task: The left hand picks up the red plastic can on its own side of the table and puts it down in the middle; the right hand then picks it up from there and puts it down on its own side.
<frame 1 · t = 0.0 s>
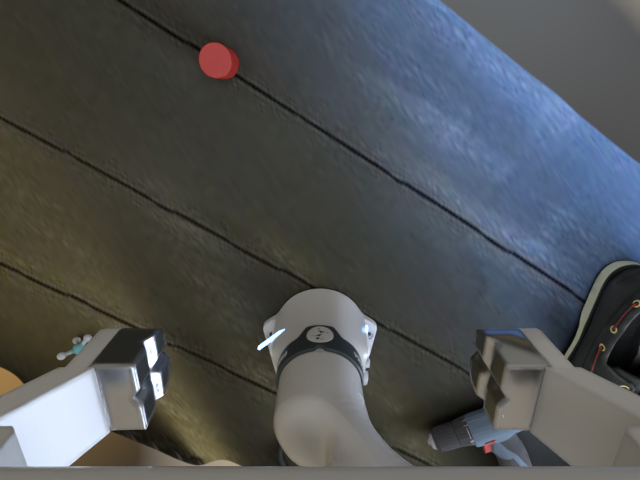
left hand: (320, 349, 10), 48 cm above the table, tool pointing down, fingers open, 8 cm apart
power drill: (483, 441, 75), on the table
molecular model: (100, 355, 68), on the table
boat shoe: (600, 345, 68), on the table
can: (223, 62, 52), on the table
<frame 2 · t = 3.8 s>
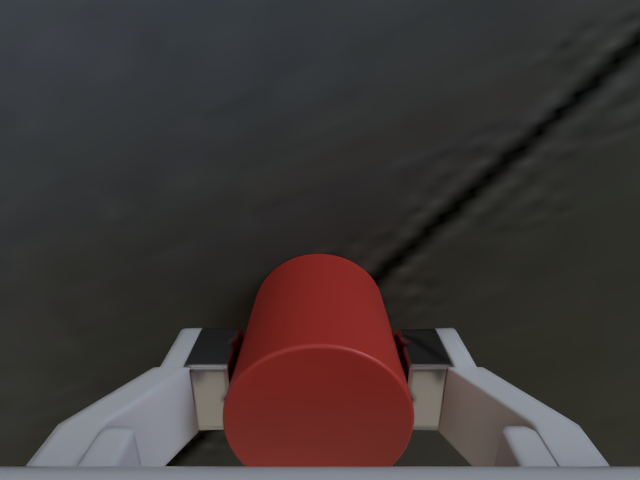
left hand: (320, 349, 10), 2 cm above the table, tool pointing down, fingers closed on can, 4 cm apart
can: (319, 311, 12), on the table, touching left hand
when the left hand's fingers open (3 cm above the table, at t = 8.1 s): can stays where it is, on the table.
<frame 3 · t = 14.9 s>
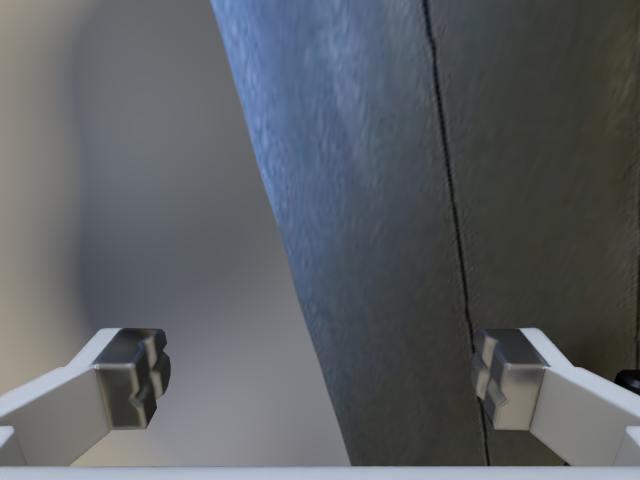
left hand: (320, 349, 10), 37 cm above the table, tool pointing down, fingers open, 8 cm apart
when the right hand's fingers open (2 cm above the table, at t = 20.1 s): can stays where it is, on the table.
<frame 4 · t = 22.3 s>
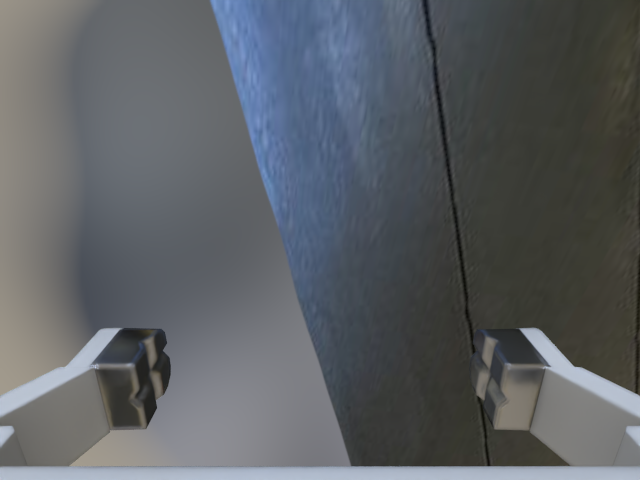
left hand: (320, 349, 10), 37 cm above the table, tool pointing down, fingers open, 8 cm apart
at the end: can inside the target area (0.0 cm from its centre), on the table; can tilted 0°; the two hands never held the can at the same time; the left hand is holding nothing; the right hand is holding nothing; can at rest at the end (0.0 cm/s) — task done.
